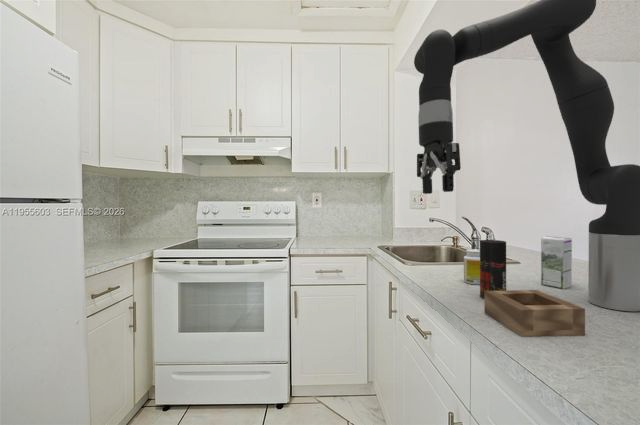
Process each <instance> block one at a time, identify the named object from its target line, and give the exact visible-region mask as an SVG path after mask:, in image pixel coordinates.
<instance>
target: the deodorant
mask: <svg viewBox="0 0 640 425" xmlns="http://www.w3.org/2000/svg"><path fill="white" fill-rule="evenodd" d="M479 250H480V284H479V287H480V288H479V298H480V299H482V300H484V291H507V241H505V240H498V239H481V240H479Z"/></svg>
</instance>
